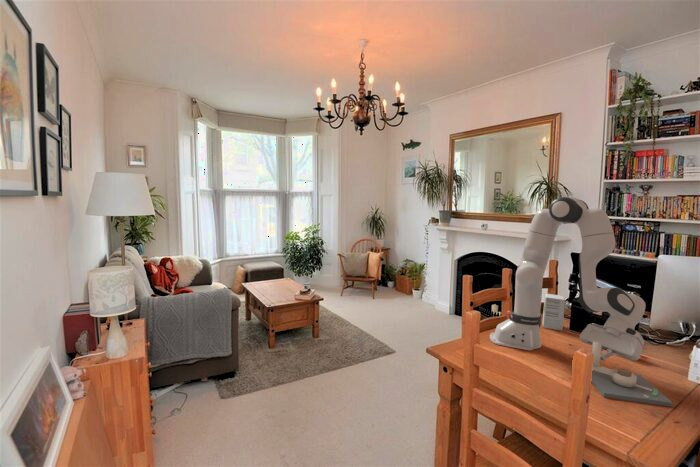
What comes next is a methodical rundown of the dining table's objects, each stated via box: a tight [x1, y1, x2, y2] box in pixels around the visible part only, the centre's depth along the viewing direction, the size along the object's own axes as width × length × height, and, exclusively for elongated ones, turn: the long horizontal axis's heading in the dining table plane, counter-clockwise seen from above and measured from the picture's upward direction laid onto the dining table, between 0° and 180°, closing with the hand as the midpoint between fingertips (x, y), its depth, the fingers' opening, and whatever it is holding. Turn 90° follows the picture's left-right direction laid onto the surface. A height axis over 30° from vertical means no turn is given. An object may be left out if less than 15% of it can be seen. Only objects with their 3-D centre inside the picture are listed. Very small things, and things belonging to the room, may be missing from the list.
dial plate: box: [591, 370, 674, 408], centre depth 131 cm, size 20×20×2 cm
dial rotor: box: [591, 341, 652, 391], centre depth 131 cm, size 18×7×12 cm, turn 44°
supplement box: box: [541, 293, 566, 331], centre depth 194 cm, size 10×9×17 cm
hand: (599, 358), depth 138 cm, fingers closed
